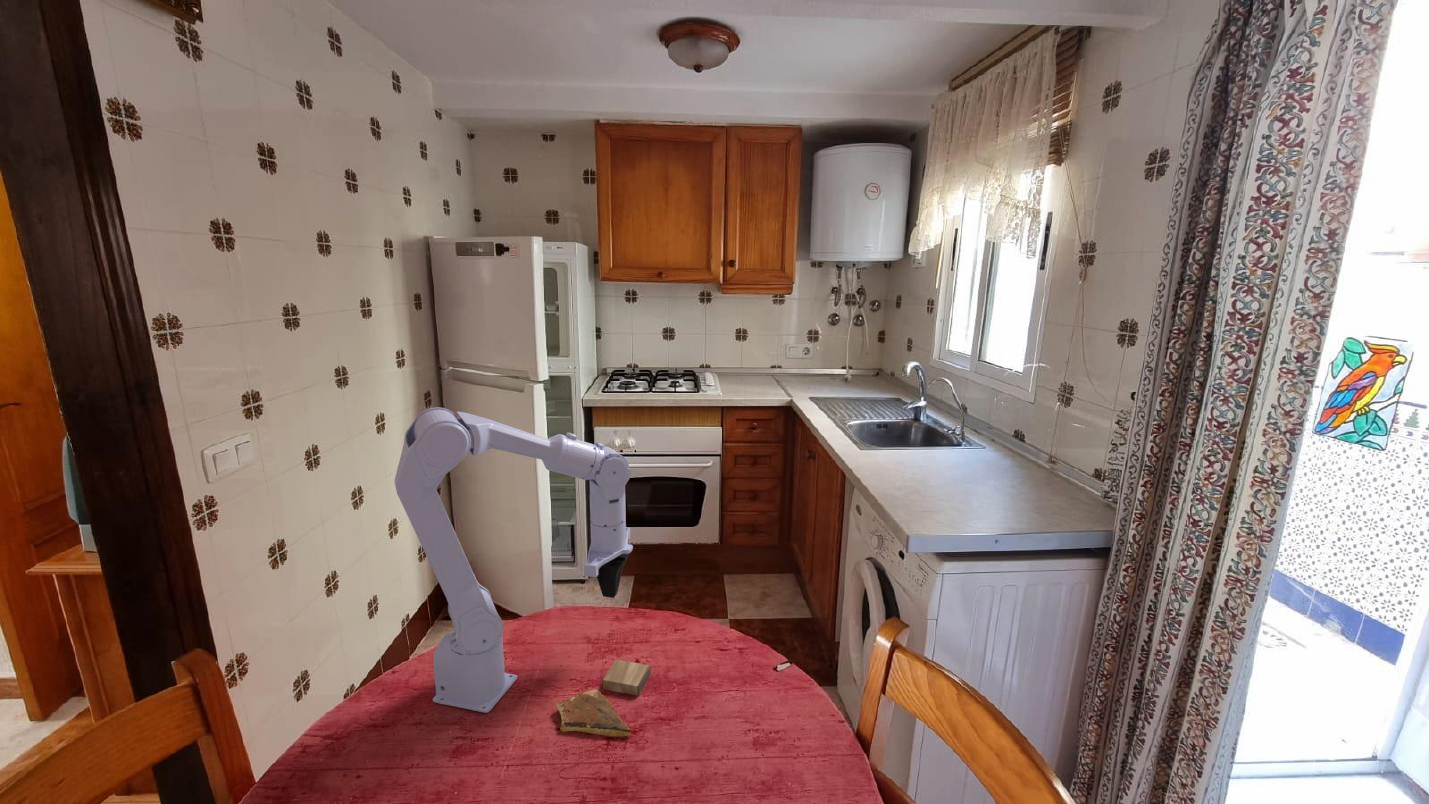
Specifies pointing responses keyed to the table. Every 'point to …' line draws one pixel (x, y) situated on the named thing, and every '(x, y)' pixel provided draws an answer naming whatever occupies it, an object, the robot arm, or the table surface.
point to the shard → (591, 715)
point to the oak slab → (627, 677)
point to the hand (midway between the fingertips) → (609, 595)
